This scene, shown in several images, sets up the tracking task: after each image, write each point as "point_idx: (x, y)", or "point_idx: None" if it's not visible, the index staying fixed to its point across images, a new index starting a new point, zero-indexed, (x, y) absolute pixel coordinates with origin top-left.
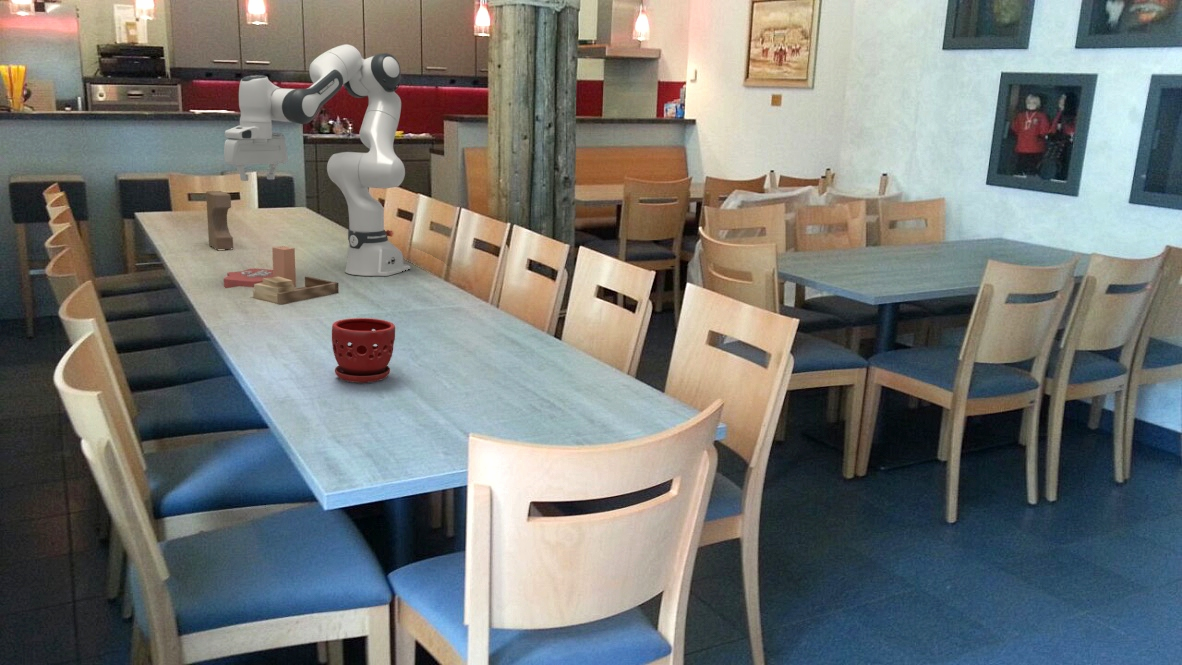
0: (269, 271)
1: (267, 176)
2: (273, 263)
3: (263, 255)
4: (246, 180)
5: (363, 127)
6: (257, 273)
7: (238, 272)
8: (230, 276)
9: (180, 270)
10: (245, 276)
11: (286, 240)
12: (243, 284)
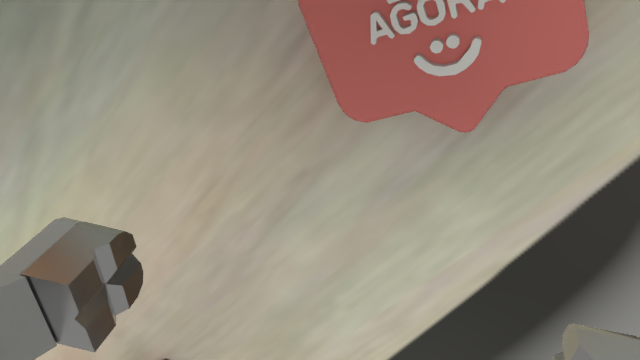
0: (347, 24)
1: (116, 306)
2: None
3: None
4: (605, 331)
5: None
6: (437, 4)
7: (442, 102)
8: (529, 67)
9: (427, 316)
10: (492, 19)
11: None
12: None
